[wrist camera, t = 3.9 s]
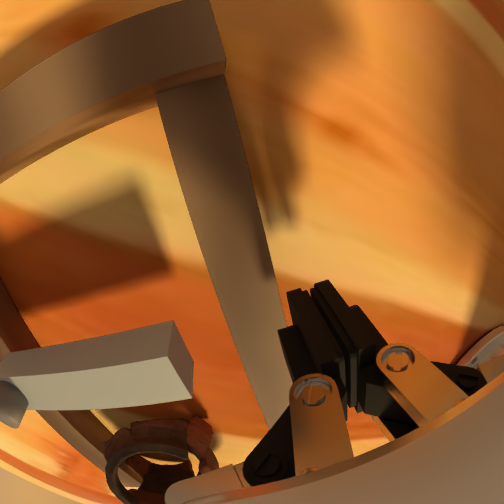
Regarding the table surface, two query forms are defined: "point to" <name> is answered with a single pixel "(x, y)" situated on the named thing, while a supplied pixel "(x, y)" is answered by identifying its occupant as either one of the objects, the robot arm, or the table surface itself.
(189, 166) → the frame
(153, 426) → the pottery mug
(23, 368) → the gray rectangular bar
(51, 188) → the table surface
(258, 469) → the robot arm
